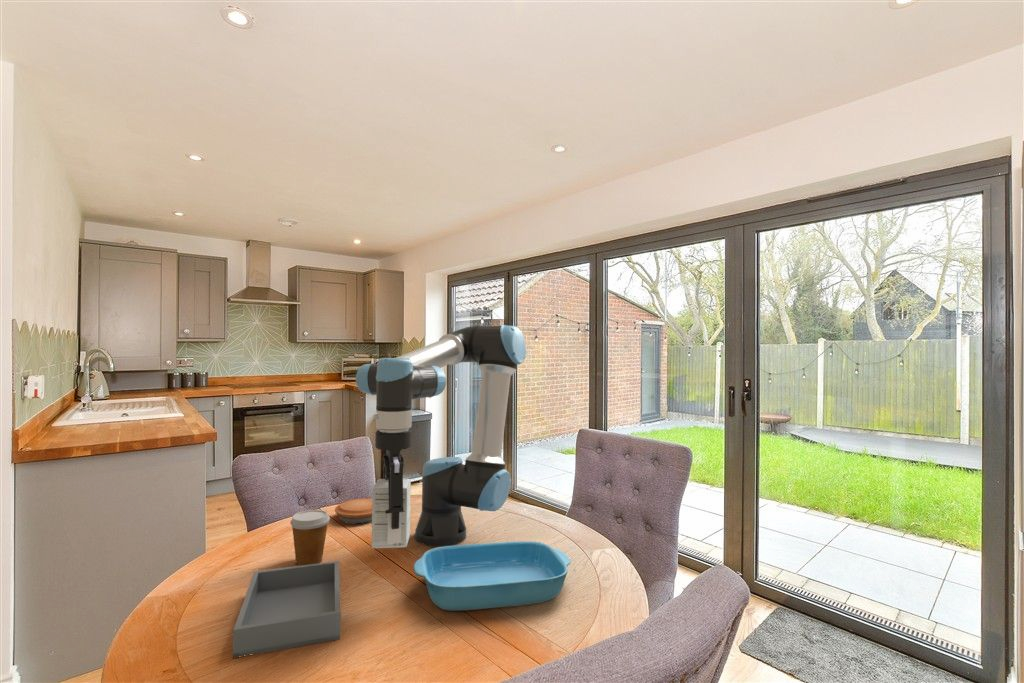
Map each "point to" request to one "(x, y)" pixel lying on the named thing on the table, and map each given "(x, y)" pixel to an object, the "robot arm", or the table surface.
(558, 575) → the casserole dish
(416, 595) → the table surface
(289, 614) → the bin
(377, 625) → the table surface
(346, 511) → the pie
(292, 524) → the disposable coffee cup
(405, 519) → the supplement box
